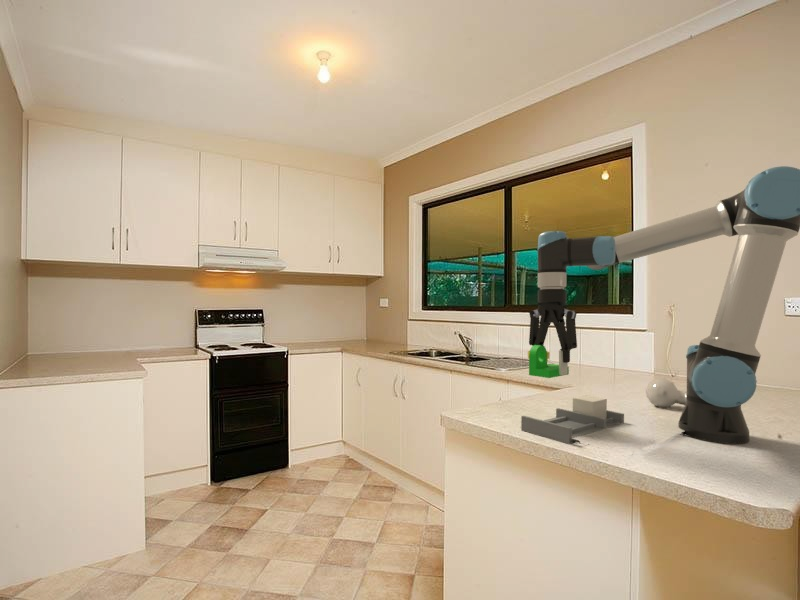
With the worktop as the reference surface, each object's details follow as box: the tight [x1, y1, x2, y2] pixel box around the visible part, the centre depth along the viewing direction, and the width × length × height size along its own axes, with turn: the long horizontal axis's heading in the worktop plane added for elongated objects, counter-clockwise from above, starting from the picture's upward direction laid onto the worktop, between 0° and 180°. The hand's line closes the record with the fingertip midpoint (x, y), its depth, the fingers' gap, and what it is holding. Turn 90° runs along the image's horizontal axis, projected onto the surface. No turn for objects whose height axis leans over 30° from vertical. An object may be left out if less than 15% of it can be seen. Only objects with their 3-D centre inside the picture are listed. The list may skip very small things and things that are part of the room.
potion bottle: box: [645, 378, 687, 409], centre depth 149 cm, size 9×10×15 cm
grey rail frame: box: [520, 407, 625, 445], centre depth 122 cm, size 14×26×4 cm, turn 127°
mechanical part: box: [528, 345, 570, 379], centre depth 124 cm, size 12×6×8 cm, turn 130°
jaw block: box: [572, 395, 608, 419], centre depth 126 cm, size 6×7×6 cm
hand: (552, 372), depth 124 cm, fingers closed on mechanical part, 6 cm apart
